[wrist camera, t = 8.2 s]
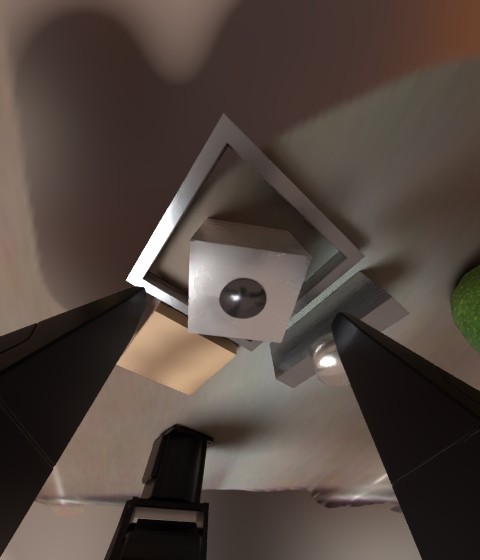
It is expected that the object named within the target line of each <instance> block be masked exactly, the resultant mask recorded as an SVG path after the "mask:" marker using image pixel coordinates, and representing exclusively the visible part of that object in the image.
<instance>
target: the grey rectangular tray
mask: <svg viewBox="0 0 480 560" xmlns="http://www.w3.org/2000/svg"><path fill="white" fill-rule="evenodd" d="M228 146H229V147H230V148H231V149H232V150H233V151H234V152H235V153H236V154H238V156H239V157H240V158H242V159H243V160H244V161H245V162H246V163H247V164H248V165H249V166H250V167H251V168H252V169H253V170H254V171H255V172H256V173H257V174H258V175H259V176H260V177H261V178H262V179H264V180H265V181H266V182H267V183H268V184H269V185H270V186H271V187H272V188H273V189H274V190H275V191H276V192H277V193H278V194H279V195H280V196H281V197H282V198H283V199H284V200H286V201H287V202H288V203H289V204H290V205H291V206H292V207H293V208H294V209H295V210H296V211H297V212H298V213H299V214H300V215H301V216H302V217H303V218H304V219H305V220H306V221H308V222H309V223H310V224H311V225H312V226H313V227H314V228H315V229H316V230H317V231H318V232H319V233H320V234H321V235H322V236H323V237H324V238H325V239H326V240H327V241H328V242H330V243H331V244H332V245H333V246H334V247H335V248H336V249H337V250H338V251H339V252H338V253H337V254H336V255H335V256H334V257H333V258H332V259H330V260H329V261H328V262H327V263H326V264H325V265H324V266H323V267H322V268H321V269H319V270H318V271H317V272H316V273H315V274H314V275H313V276H312V277H311V278H309V279H308V280H307V281H306V282H305V283H304V284H303V285H302V287H301V290H300V293H299V295H298V298H297V301H296V304H295V306H294V309H293V312H292V315H291V317H290V319H291V318H292V317H293V316H294V315H296V314H297V313H298V312H299V311H300V310H302V309H303V308H304V307H305V306H306V305H307V304H309V303H310V302H311V301H312V300H313V299H315V298H316V297H317V296H318V295H319V294H321V293H322V292H323V291H324V290H325V289H327V288H328V287H329V286H330V285H331V284H333V283H334V282H335V281H336V280H337V279H338V278H340V277H341V276H342V275H343V274H344V273H346V272H347V271H348V270H349V269H350V268H352V267H353V266H354V265H355V264H356V263H358V262H359V261H360V260H361V259H362V258H364V257H365V256H364V255H363V254H362V253H361V252H360V251H359V250H358V249H357V248H356V247H355V245H354V244H353V243H352V242H351V241H350V240H349V239H348V238H347V237H346V236H345V235H344V234H343V233H342V232H341V231H340V230H339V229H338V228H337V227H336V226H335V225H334V224H333V223H332V222H331V221H330V220H329V219H328V218H327V217H326V216H325V215H324V214H323V213H322V212H321V211H320V210H319V209H318V208H317V207H316V206H315V205H314V204H313V203H312V202H311V201H310V200H309V199H308V198H307V197H306V196H305V195H304V194H303V193H302V192H301V191H300V190H299V189H298V188H297V187H296V186H295V185H294V184H293V183H292V182H291V181H290V180H289V179H288V178H287V177H286V176H285V175H284V174H283V173H282V172H281V171H280V170H279V169H278V168H277V167H276V166H275V165H274V164H273V163H272V162H271V161H270V160H269V159H268V158H267V157H266V155H265V154H264V153H263V152H262V151H261V150H260V149H259V148H258V147H257V146H256V145H255V144H254V143H253V142H252V141H251V140H249V138H248V137H247V136H246V135H245V134H244V133H243V132H242V131H241V130H240V129H239V128H238V127H237V126H236V125H235V124H234V123H233V122H232V121H231V120H230V119H229V118H228V117H227V116H225V114H224V113H223V115H222V117H221V118H220V120H219V122H218V123H217V125H216V127H215V129H214V130H213V132H212V134H211V136H210V137H209V139H208V141H207V143H206V144H205V146H204V148H203V150H202V151H201V153H200V155H199V156H198V158H197V160H196V161H195V163H194V165H193V167H192V168H191V170H190V172H189V173H188V175H187V177H186V179H185V180H184V182H183V184H182V185H181V187H180V189H179V191H178V192H177V194H176V196H175V198H174V199H173V201H172V203H171V204H170V206H169V208H168V209H167V211H166V213H165V215H164V216H163V218H162V220H161V221H160V223H159V225H158V227H157V228H156V230H155V232H154V234H153V235H152V237H151V239H150V241H149V242H148V244H147V246H146V247H145V249H144V251H143V252H142V254H141V256H140V258H139V259H138V261H137V263H136V265H135V266H134V268H133V270H132V271H131V273H130V275H129V277H128V278H127V280H126V281H129V282H130V283H132V284H133V285H135V286H141V287H144V288H145V290H146V292H148V293H149V294H151V295H153V296H155V297H156V298H158V299H160V300H162V301H163V302H165V303H167V304H169V305H170V306H172V307H174V308H176V309H177V310H179V311H181V312H183V313H185V314H186V315H188V304H189V295H187V294H186V293H184V292H182V291H181V290H179V289H177V288H176V287H174V286H172V285H171V284H169V283H167V282H166V281H164V280H162V279H161V278H159V277H157V276H156V275H154V274H152V273H151V272H149V271H150V269H151V267H152V265H153V264H154V263H155V261H156V259H157V258H158V256H159V255H160V253H161V251H162V250H163V248H164V247H165V245H166V244H167V242H168V240H169V239H170V237H171V236H172V234H173V232H174V231H175V229H176V228H177V226H178V225H179V223H180V221H181V220H182V218H183V217H184V215H185V213H186V212H187V210H188V209H189V207H190V206H191V204H192V202H193V201H194V199H195V198H196V196H197V194H198V193H199V191H200V190H201V188H202V187H203V185H204V183H205V182H206V180H207V179H208V177H209V175H210V174H211V172H212V171H213V169H214V168H215V166H216V164H217V163H218V161H219V160H220V158H221V156H222V155H223V153H224V152H225V150H226V148H227V147H228ZM338 312H347V313H350V314H351V315H353V316H355V317H356V318H358V319H360V320H361V321H363V322H365V323H366V324H368V325H370V326H371V327H373V328H374V329H376V330H378V331H379V332H381V331H383V330H384V329H386V328H388V327H389V326H391V325H392V324H394V323H395V322H397V321H398V320H400V319H402V318H403V317H405V316H406V315H408V314H409V312H408V311H407V310H406V309H404V308H403V307H402V306H401V305H400V304H399V303H398V302H397V301H396V300H395V299H394V298H393V297H392V296H391V295H389V294H388V293H387V292H386V291H384V290H383V289H382V288H381V287H379V286H378V285H377V284H375V283H374V282H373V281H372V280H370V279H369V278H368V277H366V276H365V275H364V274H363V273H361V272H360V271H359V272H358V273H357V274H355V275H354V276H353V277H352V278H351V279H349V280H348V281H347V282H346V283H344V284H343V285H342V286H341V287H340V288H338V289H337V290H336V291H335V292H333V293H332V294H331V295H330V296H328V297H327V298H326V299H325V300H324V301H322V302H321V303H320V304H319V305H317V306H316V307H315V308H314V309H313V310H311V311H310V312H309V313H308V314H306V315H305V316H304V317H303V318H301V319H300V320H299V321H298V322H297V323H295V324H294V325H293V326H292V327H290V328H289V329H288V330H287V331H286V332H285V334H284V337H283V340H282V342H281V343H277V342H272V343H271V344H270V349H271V355H272V360H273V366H274V371H275V377H276V379H277V380H279V381H281V382H283V383H285V384H287V385H288V386H290V387H292V388H294V387H296V386H297V385H299V384H301V383H302V382H304V381H305V380H307V379H308V378H310V377H311V376H313V375H315V374H316V373H317V376H318V378H319V379H320V380H321V381H322V382H324V383H326V384H329V385H334V386H343V385H349V384H350V382H349V380H348V377H347V375H346V372H345V370H344V368H343V365H342V363H341V360H340V357H339V354H338V351H337V348H336V344H335V341H334V337H333V334H332V331H331V324H332V322H333V320H334V318H335V316H336V314H337V313H338ZM227 338H229V339H230V340H232V341H234V342H236V343H237V344H239V345H241V346H243V347H244V348H246V349H248V350H250V351H253V350H254V349H255V348H256V347H257V346H259V345H260V344H261V343H262V342H263V341H258V340H249V339H240V338H231V337H227Z"/></svg>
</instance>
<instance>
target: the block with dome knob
mask: <svg viewBox="0 0 480 560" xmlns="http://www.w3.org/2000/svg"><path fill="white" fill-rule="evenodd" d="M311 259H312V257H311V255H310V254H309V253H308V252H307V251H306V250H305V249H304V248H303V247H302V246H301V244H300V243H299V242H298V241H297V240H296V239H295V238H294V237H293V236H292V235H291V234H290V232H289V231H287V230H281V229H274V228H268V227H262V226H255V225H249V224H242V223H236V222H230V221H223V220H217V219H210V218H207V219H206V220H205V222H204V223H203V224H202V225H201V227H200V228H199V229H198V230H197V232H196V233H195V234H194V235H193V237H192V238H191V239H190V267H189V304H188V333H195V334H204V335H213V336H222V337H231V338H240V339H249V340H258V341H267V342H277V343H281V342H282V340H283V337H284V334H285V331H286V328H287V326H288V323H289V320H290V317H291V315H292V312H293V309H294V306H295V304H296V301H297V298H298V295H299V293H300V290H301V287H302V284H303V281H304V279H305V276H306V273H307V270H308V268H309V265H310V262H311Z"/></svg>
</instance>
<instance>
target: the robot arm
mask: <svg viewBox="0 0 480 560" xmlns="http://www.w3.org/2000/svg"><path fill="white" fill-rule="evenodd" d="M146 305H147V299H146V290H145V288H144V287H141V286H133V287H130V288H127V289H125V290H122V291H119V292H117V293H114V294H112V295H109V296H106V297H104V298H101V299H98V300H96V301H93V302H90V303H88V304H85V305H82V306H80V307H77V308H75V309H72V310H69V311H67V312H64V313H61V314H59V315H56V316H53V317H51V318H48V319H46V320H43V321H40V322H39V323H38V324H37V323H35V324H32V325H30V326H27V327H24V328H22V329H19V330H16V331H14V332H11V333H8V334H5V335H3V336H0V557H1V555H2V553H3V552H4V550H5V548H6V547H7V545H8V543H9V542H10V540H11V538H12V537H13V535H14V533H15V532H16V530H17V528H18V527H19V525H20V523H21V522H22V520H23V518H24V517H25V515H26V514H27V512H28V510H29V509H30V507H31V505H32V503H33V502H34V500H35V499H36V497H37V495H38V494H39V492H40V490H41V489H42V487H43V485H44V484H45V482H46V480H47V479H48V477H49V475H50V474H51V472H52V470H53V467H54V466H55V465H56V463H57V462H58V460H59V458H60V457H61V455H62V453H63V452H64V450H65V448H66V447H67V445H68V443H69V442H70V440H71V438H72V437H73V435H74V433H75V432H76V430H77V428H78V427H79V425H80V423H81V422H82V420H83V418H84V417H85V415H86V413H87V412H88V410H89V408H90V407H91V405H92V403H93V402H94V400H95V398H96V397H97V395H98V393H99V392H100V390H101V388H102V387H103V385H104V383H105V382H106V380H107V379H108V377H109V375H110V374H111V372H112V370H113V369H114V367H115V365H116V364H117V362H118V360H119V359H120V357H121V355H122V354H123V352H124V350H125V349H126V347H127V345H128V344H129V342H130V340H131V338H132V337H133V335H134V333H135V330H136V328H137V326H138V324H139V322H140V319H141V317H142V315H143V313H144V311H145V308H146ZM331 331H332V334H333V337H334V341H335V344H336V348H337V351H338V354H339V357H340V360H341V363H342V365H343V368H344V370H345V372H346V375H347V377H348V380H349V382H350V385H351V387H352V390H353V392H354V394H355V397H356V399H357V402H358V404H359V407H360V409H361V411H362V414H363V416H364V419H365V421H366V424H367V426H368V428H369V431H370V433H371V436H372V438H373V441H374V443H375V446H376V448H377V450H378V453H379V455H380V458H381V460H382V463H383V465H384V467H385V470H386V472H387V475H388V477H389V480H390V482H391V484H392V487H393V490H394V492H395V495H396V497H397V499H398V502H399V504H400V507H401V509H402V512H403V514H404V516H405V519H406V521H407V524H408V526H409V529H410V531H411V533H412V536H413V538H414V541H415V543H416V546H417V548H418V550H419V553H420V555H421V558H422V560H480V391H479V390H477V389H475V388H473V387H472V386H470V385H468V384H466V383H465V382H463V381H461V380H460V379H458V378H456V377H454V376H453V375H451V374H449V373H448V372H446V371H444V370H443V369H441V368H439V367H438V366H435V365H434V364H433V363H431V362H429V361H428V360H426V359H424V358H423V357H421V356H419V355H418V354H416V353H414V352H413V351H411V350H409V349H408V348H406V347H404V346H403V345H401V344H399V343H398V342H396V341H394V340H393V339H391V338H389V337H388V336H386V335H384V334H383V333H381V332H379V331H378V330H376V329H374V328H373V327H371V326H370V325H368V324H366V323H365V322H363V321H361V320H360V319H358V318H356V317H355V316H353V315H351V314H350V313H347V312H338V313H337V314H336V316H335V318H334V320H333V322H332V324H331ZM212 444H213V439H212V438H210V437H207V436H204V435H201V434H198V433H196V432H193V431H190V430H187V429H184V428H181V427H179V426H173V427H172V428H171V429H169V430H168V431H167V432H166V433H164V434H163V435H162V436H161V437H159V438H158V439H157V440H156V441H154V443H153V448H152V451H151V454H150V457H149V460H148V463H147V466H146V470H145V473H144V476H143V479H142V483H143V484H145V486H144V490H143V493H142V496H141V498H138V497H135V496H133V499H132V500H128V501H126V504H125V507H124V510H123V513H122V515H121V518H120V521H119V524H118V527H117V529H116V532H115V534H114V536H113V539H112V542H111V544H110V547H109V549H108V551H107V554H106V556H105V559H104V560H206V552H207V530H208V510H209V503H205V502H204V503H200V499H201V491H202V483H203V474H204V466H205V458H206V450H207V447H209V446H210V445H212ZM134 517H139V518H153V519H154V518H155V519H167V520H182V521H196V523H194V522H179V521H164V520H149V519H138V521H137V523H133V520H134Z"/></svg>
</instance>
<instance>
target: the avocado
mask: <svg viewBox="0 0 480 560" xmlns="http://www.w3.org/2000/svg"><path fill="white" fill-rule="evenodd" d="M450 304H451V310H452V316H453V319H454V323H455V324H456V326H457V327H458V328H459V330H460V331H461V333H462V334H463V335H464V337H465V338H466V340H467V341H468V342H469V344H470V345H471V346H472V347H474V348H475V349H476V350H477V351H478V352H479V353H480V265H478V266H477V267H475V268H474V269H472V270H471V271H469V272H468V273H466V274H465V275H464V276H463V278H462V279H461V281H460V282H459V284H458V285H457V287H456V288H455V290H454V291H453V293H452V294H451V297H450Z"/></svg>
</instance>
